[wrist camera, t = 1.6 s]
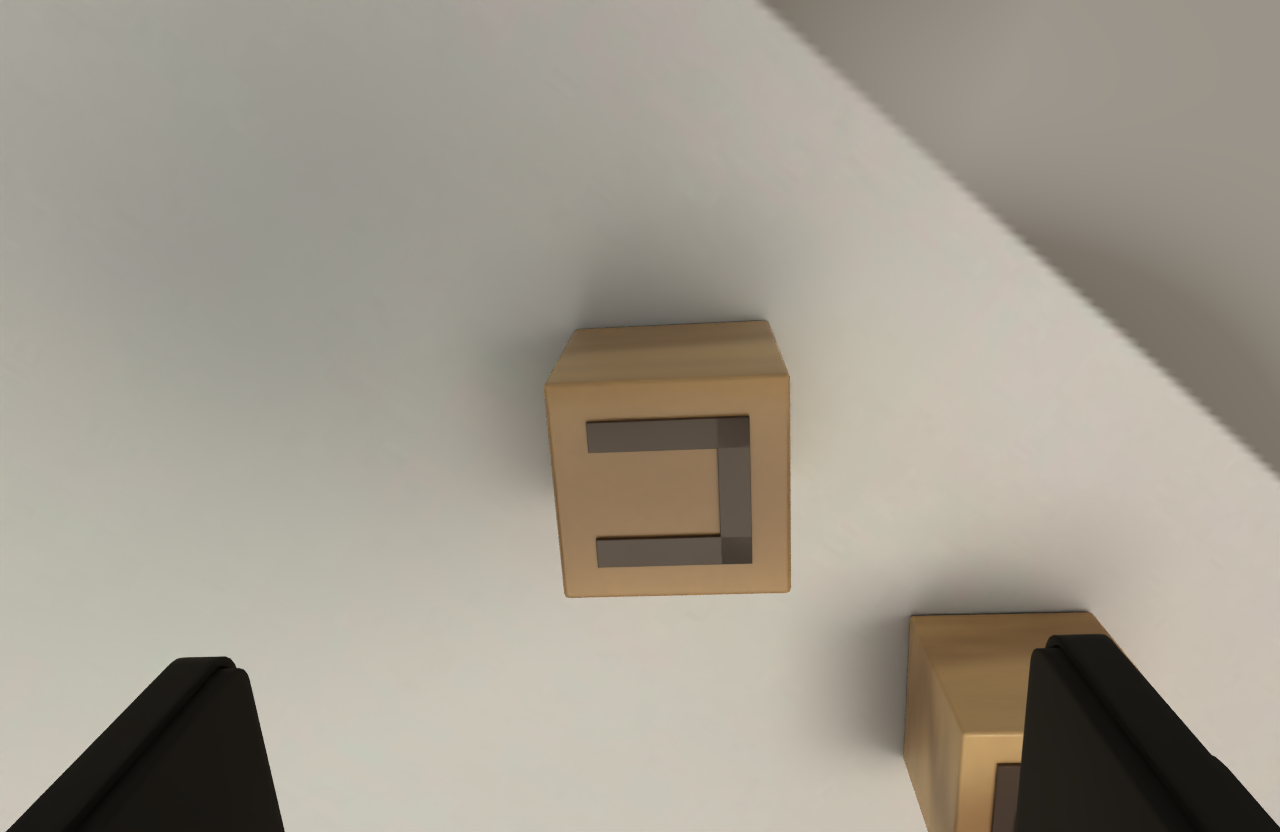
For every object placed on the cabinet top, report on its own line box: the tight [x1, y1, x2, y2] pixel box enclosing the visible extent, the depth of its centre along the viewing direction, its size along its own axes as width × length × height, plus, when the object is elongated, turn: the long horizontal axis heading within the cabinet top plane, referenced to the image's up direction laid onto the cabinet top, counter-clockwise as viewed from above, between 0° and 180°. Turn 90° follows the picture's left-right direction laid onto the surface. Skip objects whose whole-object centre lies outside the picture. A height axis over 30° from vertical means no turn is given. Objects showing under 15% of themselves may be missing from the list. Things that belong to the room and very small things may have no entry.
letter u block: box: [544, 321, 791, 598], centre depth 18 cm, size 4×4×5 cm
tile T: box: [904, 612, 1145, 832], centre depth 20 cm, size 4×4×5 cm
